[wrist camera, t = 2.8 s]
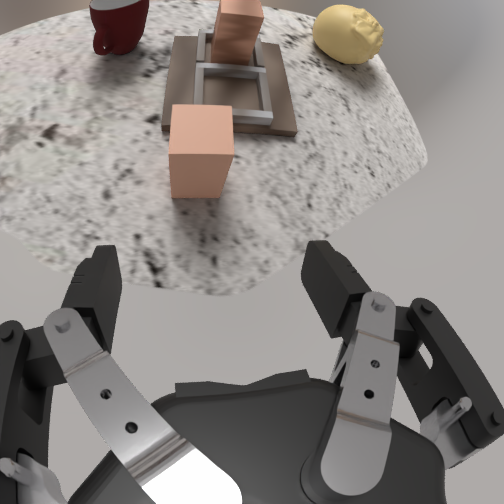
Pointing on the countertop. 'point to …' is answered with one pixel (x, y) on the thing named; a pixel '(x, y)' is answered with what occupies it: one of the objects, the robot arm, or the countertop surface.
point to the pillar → (200, 150)
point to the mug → (118, 24)
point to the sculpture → (348, 34)
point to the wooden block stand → (232, 72)
